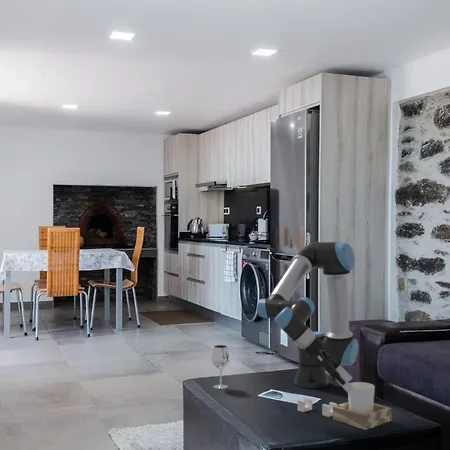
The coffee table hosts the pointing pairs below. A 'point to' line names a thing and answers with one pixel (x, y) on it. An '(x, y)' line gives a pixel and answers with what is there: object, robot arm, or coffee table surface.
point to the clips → (307, 405)
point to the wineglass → (220, 361)
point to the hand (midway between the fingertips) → (350, 385)
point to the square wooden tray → (362, 416)
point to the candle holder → (361, 398)
